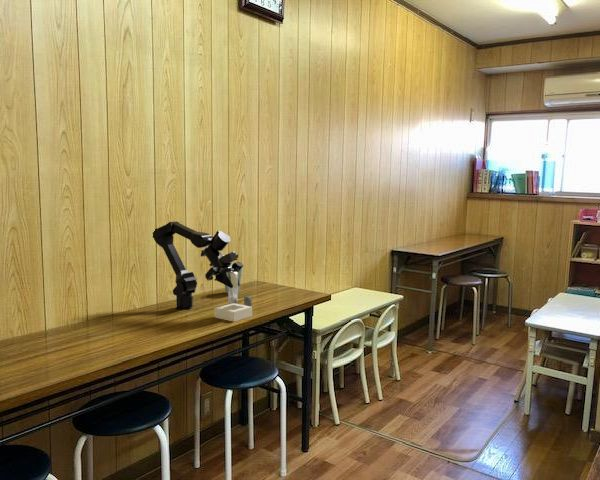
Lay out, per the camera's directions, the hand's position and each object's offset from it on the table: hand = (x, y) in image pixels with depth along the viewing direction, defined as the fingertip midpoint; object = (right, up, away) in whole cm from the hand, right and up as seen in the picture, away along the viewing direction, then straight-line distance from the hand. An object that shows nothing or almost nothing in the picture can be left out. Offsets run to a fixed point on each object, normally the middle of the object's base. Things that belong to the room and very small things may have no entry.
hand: (235, 286), depth 219 cm
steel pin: (-1, -6, +1) cm, 7 cm away
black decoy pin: (+4, -12, +13) cm, 18 cm away
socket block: (-1, -13, +2) cm, 13 cm away
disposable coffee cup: (-7, -8, +49) cm, 50 cm away
